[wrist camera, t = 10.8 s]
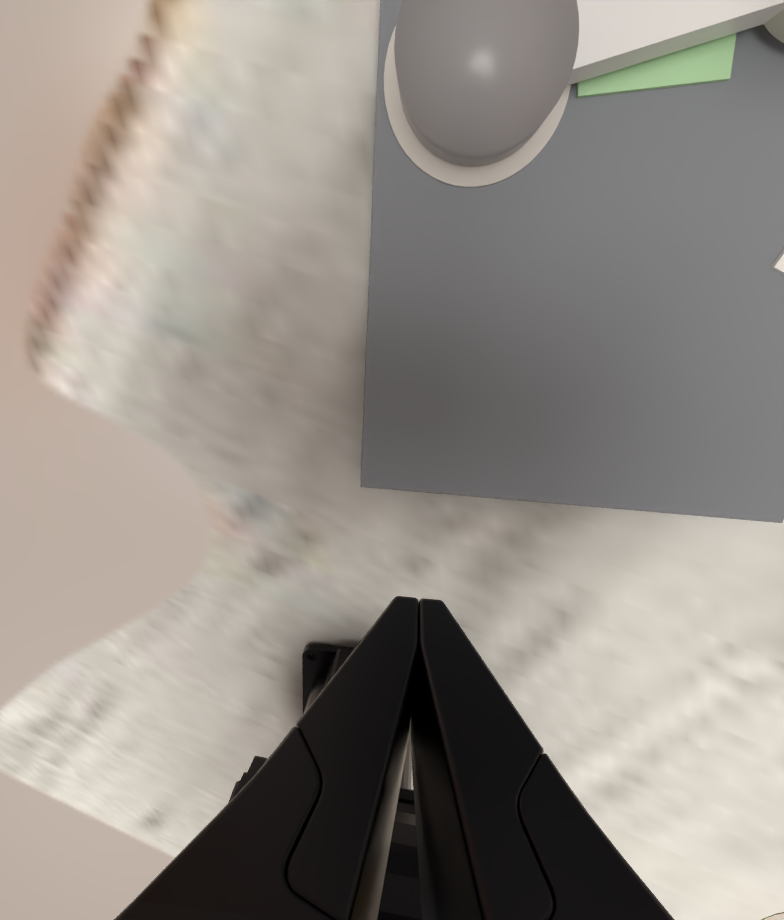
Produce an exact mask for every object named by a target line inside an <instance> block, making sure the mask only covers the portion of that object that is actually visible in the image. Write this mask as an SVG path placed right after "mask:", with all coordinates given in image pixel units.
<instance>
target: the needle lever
mask: <svg viewBox="0 0 784 920" xmlns="http://www.w3.org/2000/svg"><path fill="white" fill-rule="evenodd" d="M762 24H764V26H765V27H766V28H767V30H768V31H769V32H770V33H771V34H772V35H773V36H774V37H775V38H776V39H778V40H779V41H781V42H782V43H784V0H403V1H402V4H401V7H400V11H399V14H398V19H397V24H396V30H395V42H394V54H395V66H396V73H397V80H398V86H399V93H400V100H401V104H402V108H403V111H404V114H405V117H406V119H407V122H408V124H409V126H410V128H411V129H412V131H413V133H414V134H415V136H416V137H417V139H418V140H419V141H420V142H421V143H422V144H423V146H424V147H425V148H426V149H427V150H429V151H430V152H431V153H432V154H434V155H435V156H437V157H438V158H440V159H442V160H444V161H446V162H449V163H451V164H454V165H459V166H465V167H480V166H486V165H490V164H493V163H496V162H499V161H501V160H503V159H505V158H507V157H509V156H511V155H512V154H514V153H515V152H516V151H518V150H519V149H520V148H522V147H523V146H524V145H525V144H526V143H527V142H528V141H529V140H530V139H531V138H532V136H533V135H534V134H535V133H536V132H537V130H538V129H539V128H540V126H541V125H542V123H543V122H544V121H545V119H546V118H547V117H548V115H549V114H550V113H551V111H552V110H553V108H554V107H555V105H556V104H557V102H558V101H559V99H560V97H561V96H562V94H563V92H564V90H565V88H566V86H568V85H571V84H574V83H577V82H580V81H584V80H587V79H590V78H593V77H596V76H599V75H603V74H606V73H609V72H612V71H615V70H619V69H622V68H625V67H628V66H631V65H635V64H638V63H641V62H644V61H647V60H651V59H654V58H657V57H660V56H663V55H667V54H670V53H673V52H676V51H679V50H682V49H686V48H689V47H692V46H695V45H698V44H702V43H705V42H708V41H711V40H714V39H718V38H721V37H724V36H727V35H730V34H734V33H737V32H740V31H743V30H746V29H749V28H753V27H756V26H759V25H762Z"/></svg>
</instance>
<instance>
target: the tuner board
mask: <svg viewBox="0 0 784 920" xmlns="http://www.w3.org/2000/svg"><path fill="white" fill-rule="evenodd" d="M402 1H403V0H381V3H380V27H379V52H378V76H377V100H376V124H375V148H374V172H373V196H372V220H371V245H370V269H369V293H368V317H367V341H366V365H365V389H364V413H363V438H362V462H361V486H360V487H369V488H380V489H392V490H404V491H415V492H427V493H439V494H450V495H462V496H474V497H485V498H497V499H509V500H520V501H532V502H544V503H555V504H567V505H579V506H590V507H602V508H614V509H625V510H637V511H649V512H660V513H672V514H684V515H695V516H707V517H719V518H730V519H742V520H754V521H765V522H777V523H782V522H783V519H784V43H782V42H781V41H779V40H778V39H776V38H775V37H774V36H773V35H772V34H771V33H770V32H769V31H768V30H767V28H766V27H765V26H764V24H762V25H759V26H756V27H753V28H749V29H746V30H743V31H740V32H737V33H734V34H730V35H727V36H724V37H721V38H718V39H714V40H711V41H708V42H705V43H702V44H698V45H695V46H692V47H689V48H686V49H682V50H679V51H676V52H673V53H670V54H667V55H663V56H660V57H657V58H654V59H651V60H647V61H644V62H641V63H638V64H635V65H631V66H628V67H625V68H622V69H619V70H615V71H612V72H609V73H606V74H603V75H599V76H596V77H593V78H590V79H587V80H584V81H580V82H577V83H574V84H571V85H568V86H566V88H565V90H564V92H563V94H562V96H561V97H560V99H559V101H558V102H557V104H556V105H555V107H554V108H553V110H552V111H551V113H550V114H549V115H548V117H547V118H546V119H545V121H544V122H543V123H542V125H541V126H540V128H539V129H538V130H537V132H536V133H535V134H534V135H533V136H532V138H531V139H530V140H529V141H528V142H527V143H526V144H525V145H524V146H523V147H522V148H520V149H519V150H518V151H516V152H515V153H514V154H512V155H511V156H509V157H507V158H505V159H503V160H501V161H499V162H496V163H493V164H490V165H486V166H480V167H465V166H459V165H454V164H451V163H449V162H446V161H444V160H442V159H440V158H438V157H437V156H435V155H434V154H432V153H431V152H430V151H429V150H427V149H426V148H425V147H424V146H423V144H422V143H421V142H420V141H419V140H418V139H417V137H416V136H415V134H414V133H413V131H412V129H411V128H410V126H409V124H408V122H407V119H406V117H405V114H404V111H403V108H402V104H401V100H400V93H399V86H398V80H397V73H396V66H395V54H394V42H395V30H396V24H397V19H398V14H399V11H400V7H401V4H402Z"/></svg>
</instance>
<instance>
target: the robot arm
mask: <svg viewBox="0 0 784 920" xmlns="http://www.w3.org/2000/svg"><path fill="white" fill-rule="evenodd" d="M310 653H313V654H315V655H311V654H310ZM302 659H303V716H302V717H301V718H300V720H299V721H298V722H297V724H296V727H293V728H292V729H291V731H290V732H289V733H288V735H287V736H286V737H285V738H284V740H283V741H282V742H281V744H280V745H279V746H278V747H277V749H276V750H275V751H274V752H273V753H272V755H271V756H270V757H269V758H268V759H267V758H264V757H259V756H255V757H254V759H253V762H252V764H251V766H250V768H249V770H248V773H246V772H244V774H243V776H242V778H241V780H240V781H238V782H236V784H235V787H234V790H233V792H232V795H231V798H230V800H229V803H228V804H227V805H226V806H225V807H224V809H223V810H222V811H221V812H220V813H219V814H218V815H217V816H216V817H215V818H214V819H213V820H212V821H211V822H210V823H209V824H208V825H207V826H206V827H205V828H204V829H203V830H202V831H201V832H200V833H199V834H198V835H197V836H196V837H195V838H194V839H193V840H192V841H191V842H190V843H189V844H188V845H187V846H186V847H185V848H184V849H183V851H182V852H181V853H180V854H179V855H178V856H177V857H176V858H175V859H174V860H173V861H172V862H171V863H170V864H169V865H168V866H167V867H166V868H165V869H164V870H163V871H162V872H161V873H160V874H159V875H158V876H157V877H156V878H155V879H154V880H153V881H152V882H151V883H150V884H149V885H148V886H147V887H146V888H145V889H144V890H143V891H142V892H141V894H140V895H138V897H137V898H136V899H135V900H134V901H133V902H132V903H131V904H130V905H129V906H128V907H127V908H126V909H124V910H123V912H121V913H120V915H119V916H117V917H116V918H115V919H114V920H674V919H673V917H672V916H671V915H670V914H669V913H668V911H667V910H666V909H665V908H664V906H663V905H662V904H661V903H660V902H659V900H658V899H657V898H656V897H655V895H654V894H653V893H652V892H651V891H650V889H649V888H648V887H647V886H646V885H645V883H644V882H643V881H642V880H641V878H640V877H639V876H638V875H637V874H636V872H635V871H634V870H633V869H632V868H631V866H630V865H629V864H628V863H627V861H626V860H625V859H624V858H623V857H622V855H621V854H620V853H619V851H618V850H617V849H616V848H615V846H614V845H613V844H612V843H611V841H610V840H609V839H608V838H607V836H606V835H605V834H604V832H603V831H602V830H601V829H600V827H599V826H598V825H597V824H596V822H595V821H594V820H593V819H592V817H591V816H590V815H589V813H588V812H587V811H586V809H585V808H584V806H583V805H582V804H581V802H580V801H579V800H578V798H577V797H576V795H575V794H574V793H573V791H572V790H571V788H570V787H569V786H568V784H567V783H566V781H565V780H564V779H563V777H562V776H561V774H560V773H559V771H558V770H557V768H556V767H555V765H554V764H553V762H552V761H551V759H550V758H549V756H548V755H547V754H543V752H544V750H543V748H542V747H541V745H540V744H539V742H538V741H537V739H536V738H535V736H534V735H533V733H532V732H531V730H530V729H529V727H528V726H527V724H526V723H525V722H524V720H523V719H522V717H521V716H520V714H519V713H518V711H517V710H516V708H515V707H514V705H513V704H512V702H511V701H510V699H509V698H508V696H507V695H506V694H505V692H504V691H503V689H502V688H501V686H500V685H499V683H498V682H497V680H496V679H495V677H494V676H493V674H492V673H491V671H490V670H489V669H488V667H487V666H486V664H485V663H484V661H483V660H482V658H481V657H480V655H479V654H478V652H477V651H476V649H475V648H474V646H473V645H472V644H471V642H470V641H469V639H468V638H467V636H466V635H465V633H464V632H463V630H462V629H461V627H460V626H459V624H458V623H457V621H456V620H455V618H454V617H453V616H452V614H451V613H450V611H449V610H448V608H447V607H446V605H445V604H444V602H442V601H441V600H434V599H420V601H419V602H418V599H416V598H412V597H402V596H397V597H395V598H394V599H393V600H392V602H391V603H390V604H389V605H388V607H387V608H386V609H385V611H384V612H383V613H382V614H381V616H380V617H379V618H378V620H377V621H376V622H375V623H374V625H373V626H372V627H371V629H370V630H369V631H368V632H367V634H366V635H365V636H364V637H363V639H362V640H361V641H360V643H359V644H358V645H357V646H356V648H348V647H339V646H329V645H319V644H309V645H307V646H306V647H305V649H304V652H303V656H302ZM411 770H412V771H413V787H414V790H411Z"/></svg>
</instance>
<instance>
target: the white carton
mask: <svg viewBox="0 0 784 920" xmlns="http://www.w3.org/2000/svg"><path fill="white" fill-rule="evenodd" d="M764 920H784V913H781V914H777V915H774V916H771V917H768V918H766V919H764Z"/></svg>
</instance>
